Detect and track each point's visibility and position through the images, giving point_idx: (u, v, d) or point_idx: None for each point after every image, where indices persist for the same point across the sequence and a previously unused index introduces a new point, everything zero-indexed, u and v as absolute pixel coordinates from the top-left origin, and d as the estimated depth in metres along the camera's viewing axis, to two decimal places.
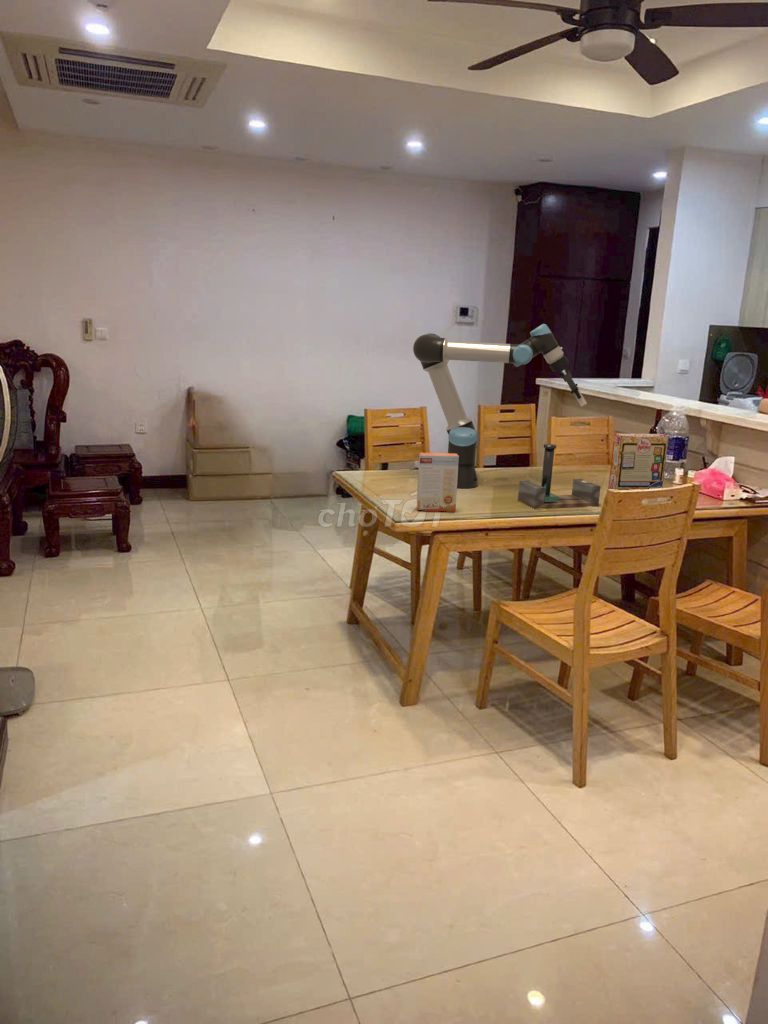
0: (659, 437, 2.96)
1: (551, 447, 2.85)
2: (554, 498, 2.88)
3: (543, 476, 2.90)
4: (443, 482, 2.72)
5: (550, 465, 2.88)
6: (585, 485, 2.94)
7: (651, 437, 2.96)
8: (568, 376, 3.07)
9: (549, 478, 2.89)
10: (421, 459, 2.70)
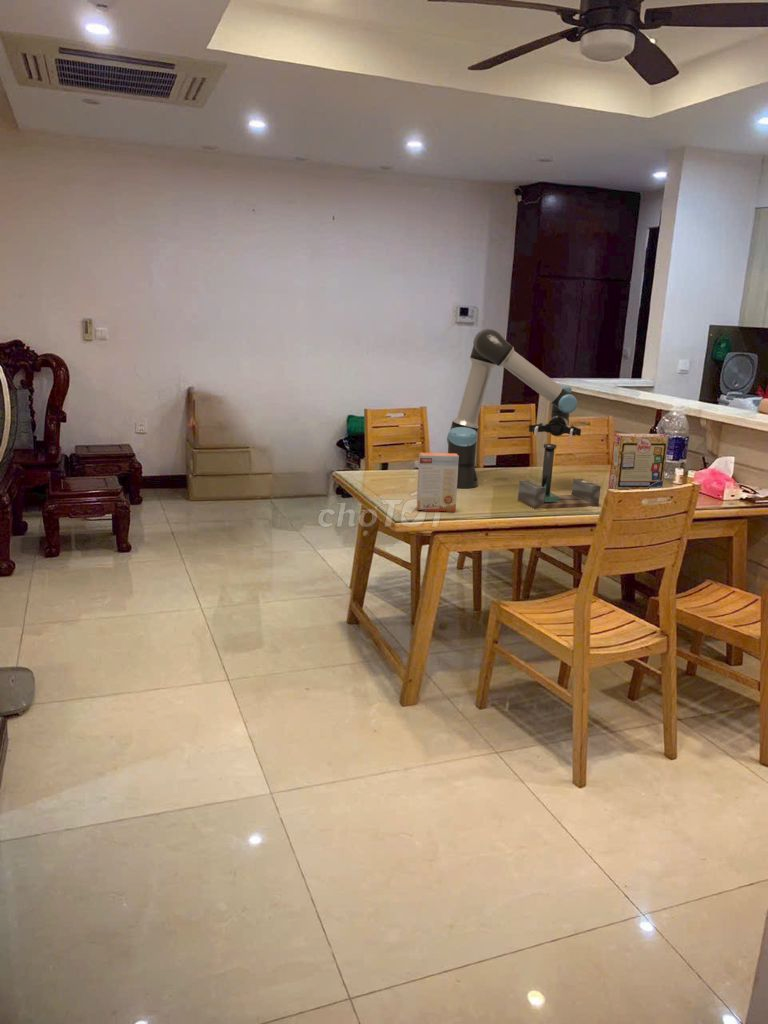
0: (659, 437, 2.96)
1: (551, 447, 2.85)
2: (554, 498, 2.88)
3: (543, 476, 2.90)
4: (443, 482, 2.72)
5: (550, 465, 2.88)
6: (585, 485, 2.94)
7: (651, 437, 2.96)
8: None
9: (549, 478, 2.89)
10: (421, 459, 2.70)
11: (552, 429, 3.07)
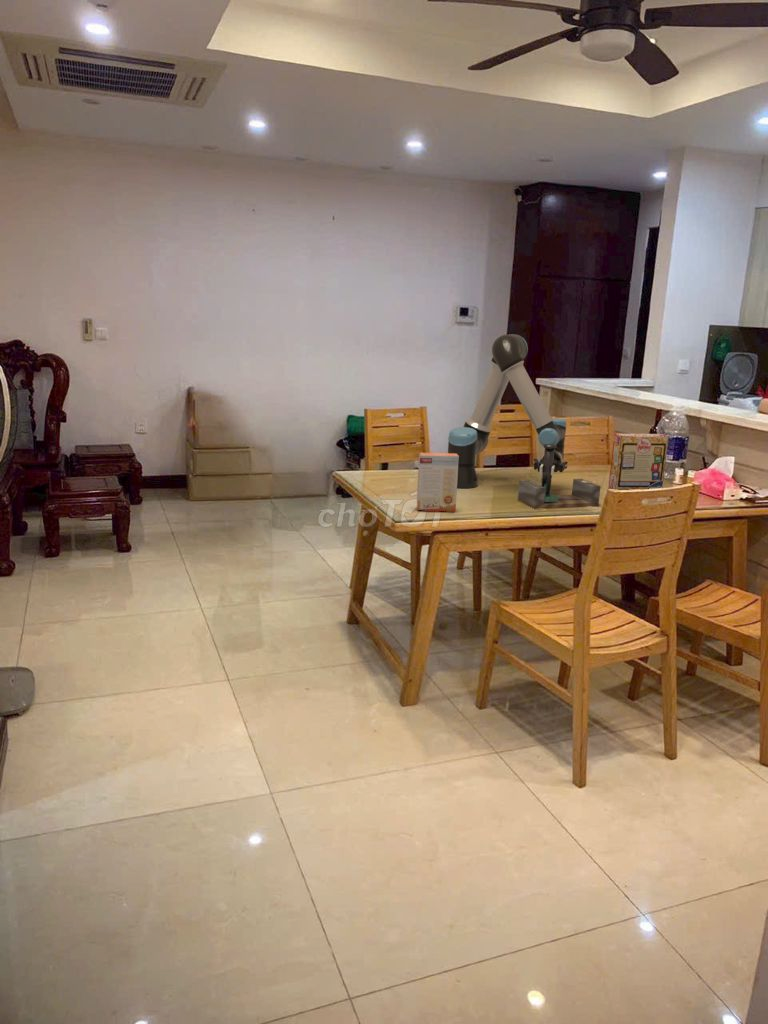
0: (659, 437, 2.96)
1: (551, 447, 2.85)
2: (554, 498, 2.88)
3: (543, 476, 2.90)
4: (443, 482, 2.72)
5: (550, 465, 2.88)
6: (585, 485, 2.94)
7: (651, 437, 2.96)
8: (564, 467, 2.96)
9: (549, 478, 2.89)
10: (421, 459, 2.70)
11: None
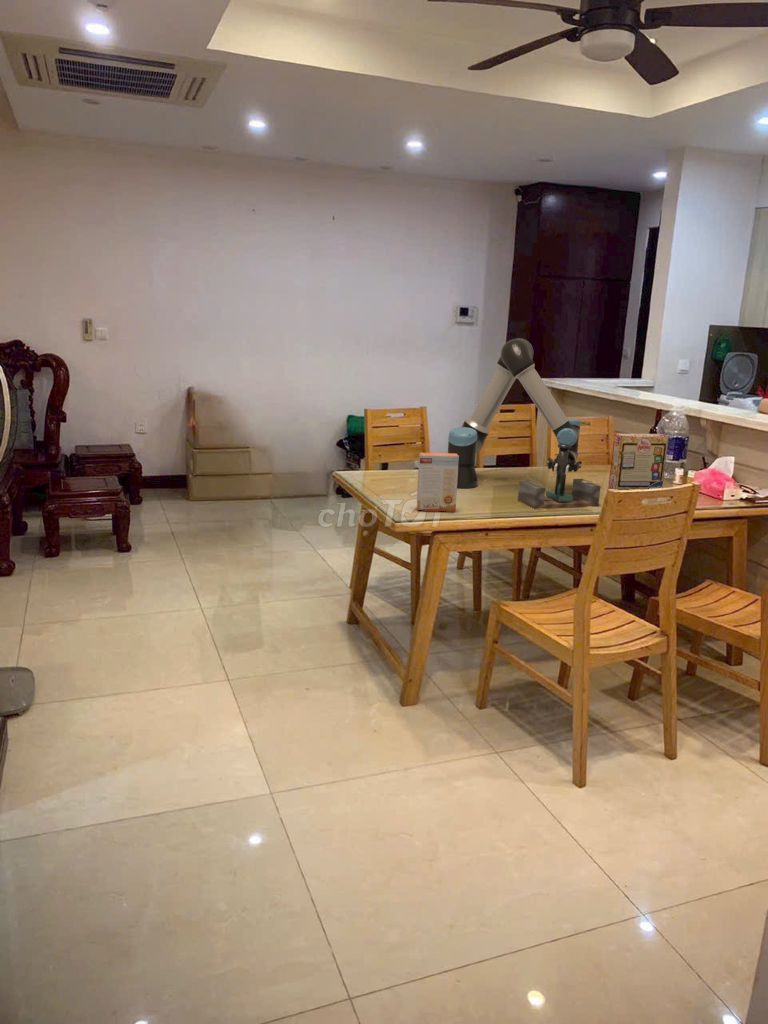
0: (659, 437, 2.96)
1: (565, 447, 2.87)
2: (568, 497, 2.90)
3: (557, 476, 2.92)
4: (443, 482, 2.72)
5: (564, 465, 2.90)
6: (585, 485, 2.94)
7: (651, 437, 2.96)
8: (578, 467, 2.97)
9: (563, 478, 2.91)
10: (421, 459, 2.70)
11: None
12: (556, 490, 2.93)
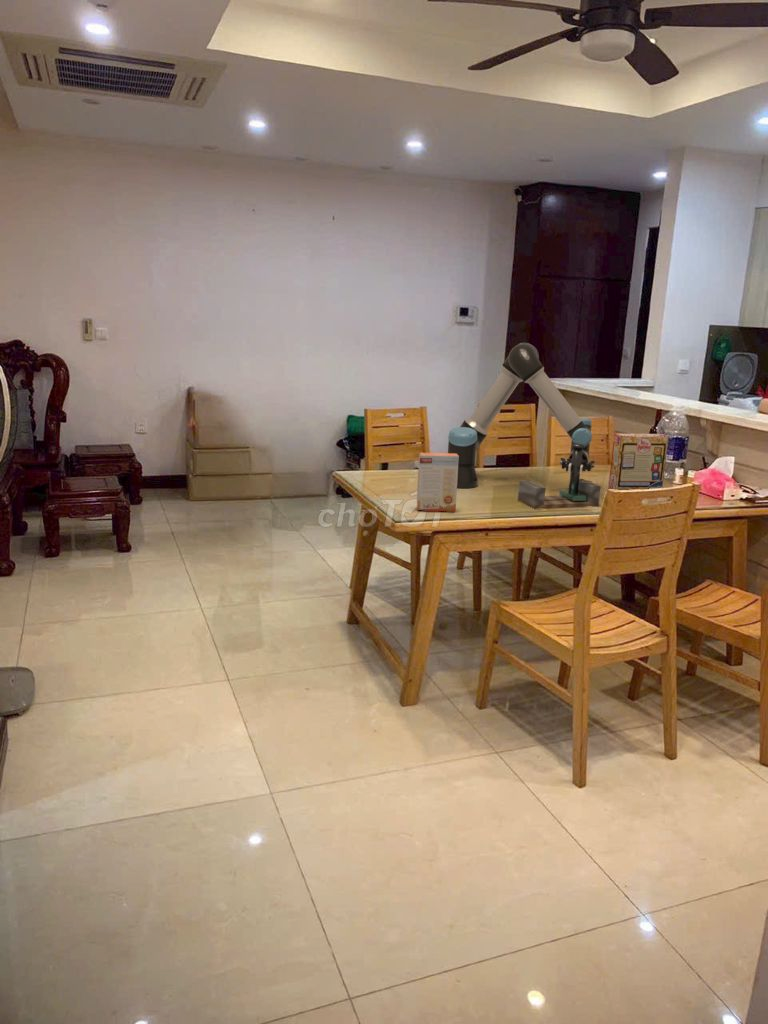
0: (659, 437, 2.96)
1: (580, 447, 2.89)
2: (582, 497, 2.92)
3: (571, 475, 2.94)
4: (443, 482, 2.72)
5: (578, 464, 2.92)
6: (585, 485, 2.94)
7: (651, 437, 2.96)
8: (591, 466, 2.99)
9: (577, 477, 2.93)
10: (421, 459, 2.70)
11: None
12: (570, 490, 2.95)
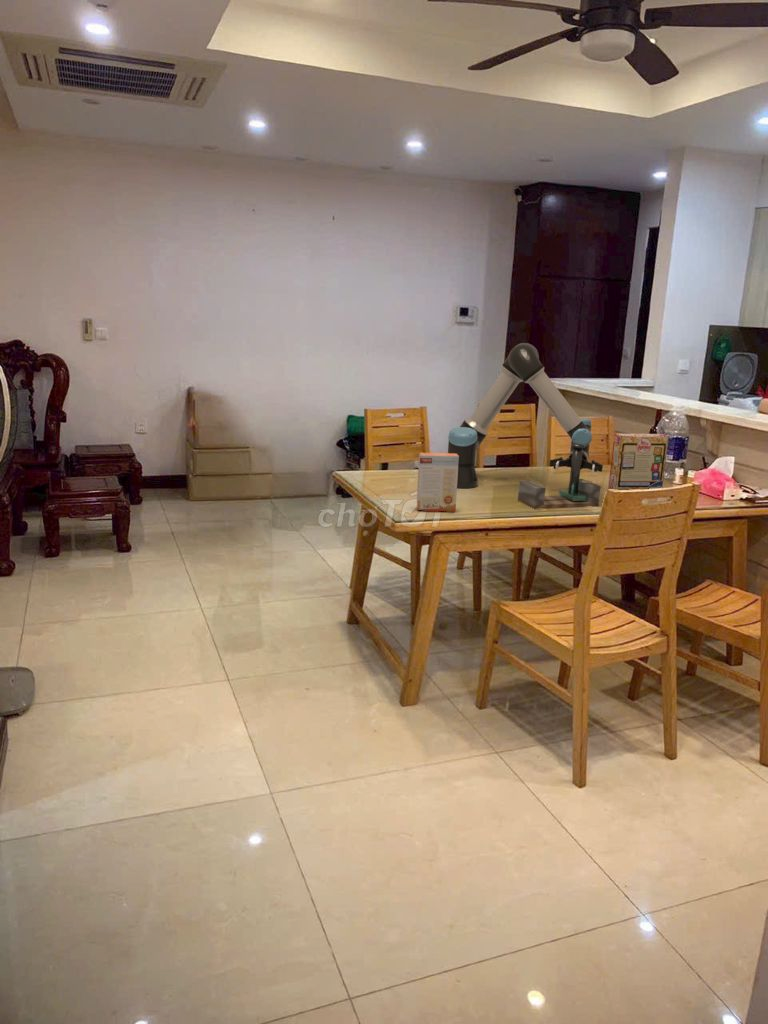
0: (659, 437, 2.96)
1: (579, 447, 2.89)
2: (582, 497, 2.92)
3: (571, 475, 2.94)
4: (443, 482, 2.72)
5: (578, 464, 2.92)
6: (585, 485, 2.94)
7: (651, 437, 2.96)
8: None
9: (577, 477, 2.93)
10: (421, 459, 2.70)
11: None
12: (570, 490, 2.95)
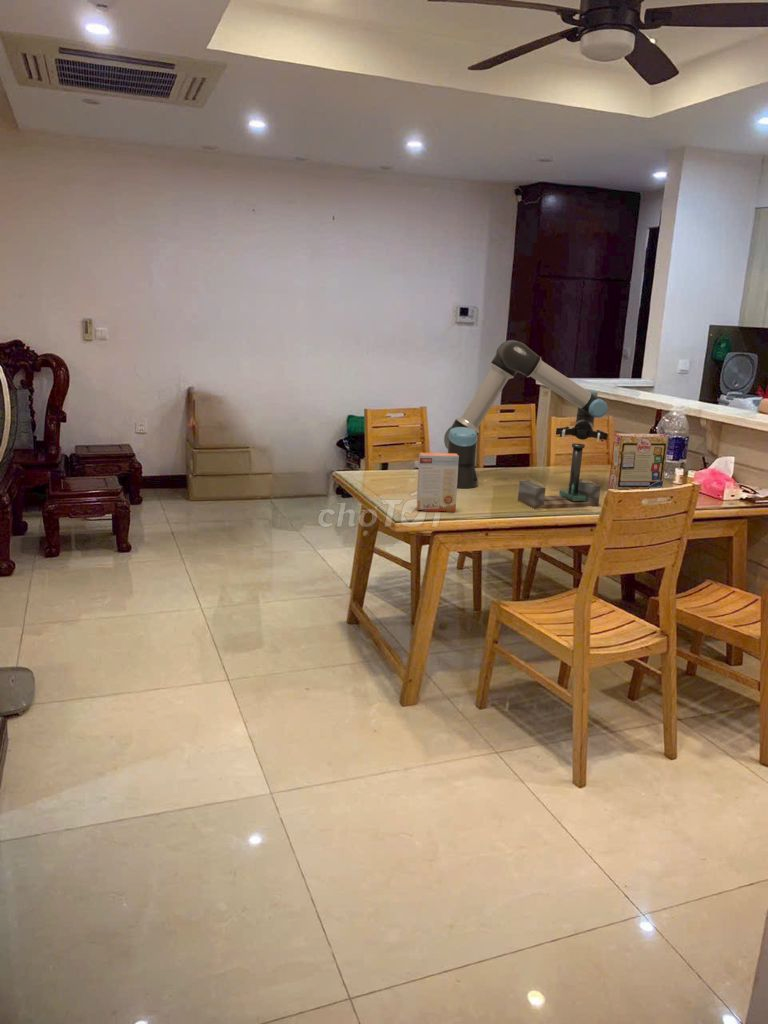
0: (659, 437, 2.96)
1: (579, 447, 2.89)
2: (582, 497, 2.92)
3: (571, 475, 2.94)
4: (443, 482, 2.72)
5: (578, 464, 2.92)
6: (585, 485, 2.94)
7: (651, 437, 2.96)
8: None
9: (577, 477, 2.93)
10: (421, 459, 2.70)
11: (578, 433, 3.11)
12: (570, 490, 2.95)
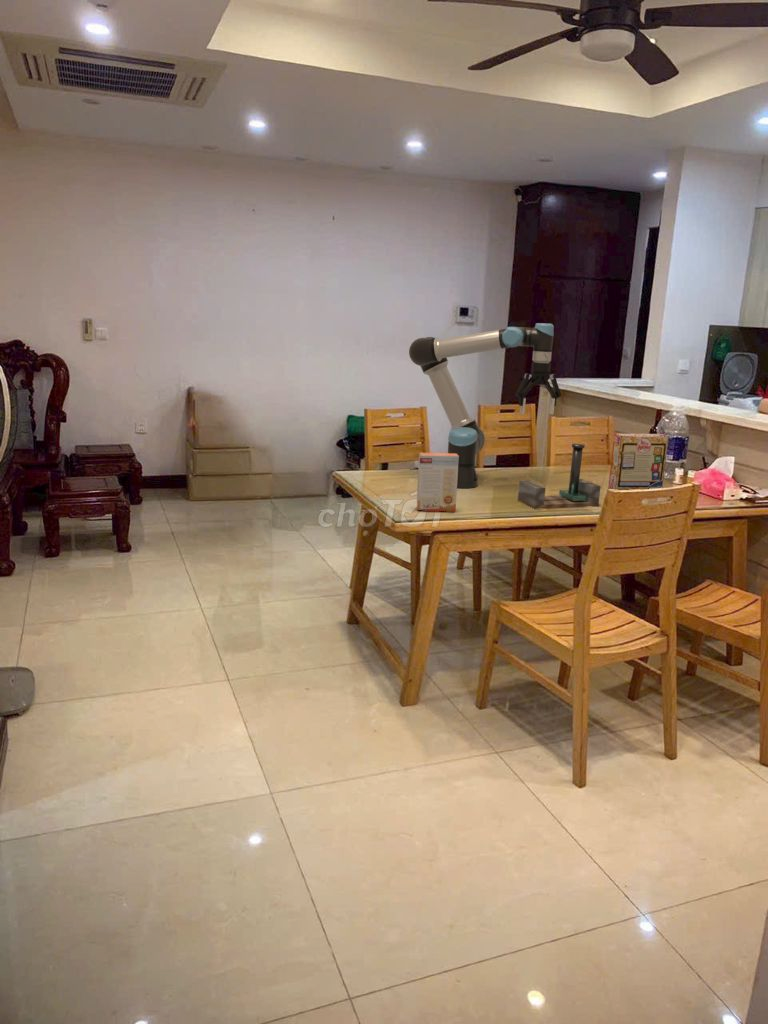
0: (659, 437, 2.96)
1: (579, 447, 2.89)
2: (582, 497, 2.92)
3: (571, 475, 2.94)
4: (443, 482, 2.72)
5: (578, 464, 2.92)
6: (585, 485, 2.94)
7: (651, 437, 2.96)
8: (524, 381, 3.10)
9: (577, 477, 2.93)
10: (421, 459, 2.70)
11: (542, 384, 3.13)
12: (570, 490, 2.95)
